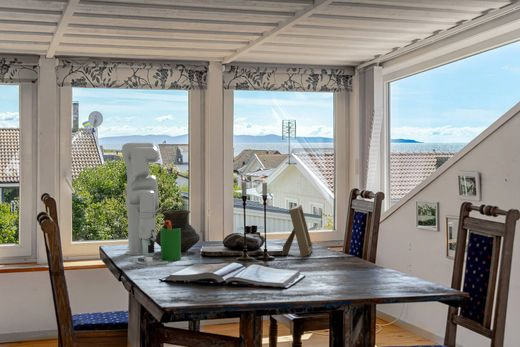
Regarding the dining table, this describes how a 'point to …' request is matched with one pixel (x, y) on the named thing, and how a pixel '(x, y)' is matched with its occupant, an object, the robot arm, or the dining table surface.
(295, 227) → the photo frame
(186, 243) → the ceramic pot
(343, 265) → the dining table surface
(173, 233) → the motor
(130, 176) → the robot arm
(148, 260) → the clip bracket
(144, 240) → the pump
